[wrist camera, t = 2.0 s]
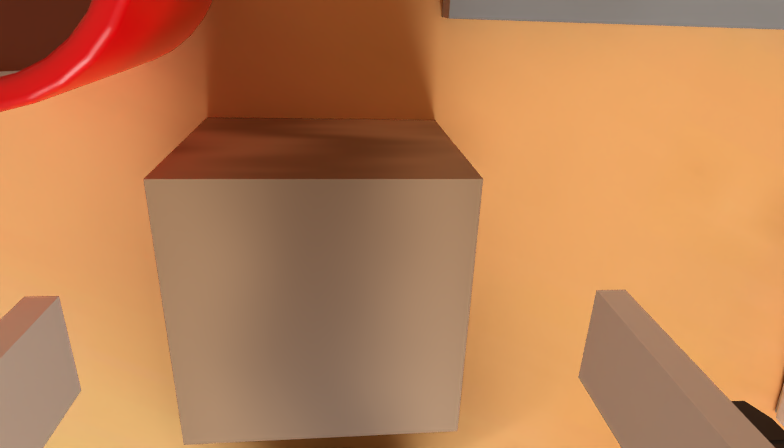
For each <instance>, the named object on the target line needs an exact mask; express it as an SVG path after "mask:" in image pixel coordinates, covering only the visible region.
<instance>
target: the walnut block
mask: <svg viewBox="0 0 784 448" xmlns="http://www.w3.org/2000/svg"><path fill="white" fill-rule="evenodd" d="M482 184H483V178H482V177H481V176H480V175H479V174H478V172H477V171H476V170H475V169H474V167H473V166H472V165H471V164H470V163H469V161H468V160H467V159H466V158H465V156H464V155H463V154H462V153H461V152H460V150H459V149H458V148H457V147H456V145H455V144H454V143H453V142H452V141H451V139H450V138H449V137H448V136H447V134H446V133H445V132H444V131H443V130H442V128H441V127H440V126H439V125H438V123H437V122H436V121H435V120H392V119H302V118H212V117H207V118H206V119H205V120H204V121H203V122H202V123H201V124H200V125H199V126H198V127H197V128H196V129H195V130H194V131H193V132H192V133H191V134H190V135H189V136H188V137H187V138H186V139H185V140H184V141H183V142H181V143H180V144H179V145H178V146H177V147H176V148H175V149H174V150H173V151H172V152H171V153H170V154H169V155H168V156H167V157H166V158H165V159H164V160H163V161H162V162H161V163H160V164H159V165H158V166H157V167H156V168H155V169H154V170H152V171H151V172H150V173H149V174H148V175H147V176H146V177H145V178H144V185H145V192H146V199H147V205H148V212H149V218H150V225H151V231H152V238H153V245H154V251H155V258H156V264H157V271H158V277H159V284H160V291H161V297H162V304H163V310H164V317H165V323H166V330H167V337H168V343H169V350H170V356H171V363H172V369H173V376H174V383H175V389H176V396H177V402H178V409H179V415H180V422H181V428H182V435H183V442H184V445H188V444H208V443H228V442H248V441H269V440H289V439H309V438H329V437H349V436H369V435H389V434H409V433H429V432H449V431H457V429H458V419H459V409H460V400H461V390H462V380H463V370H464V361H465V351H466V341H467V331H468V321H469V312H470V302H471V292H472V282H473V272H474V263H475V253H476V243H477V233H478V223H479V214H480V204H481V194H482Z"/></svg>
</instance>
